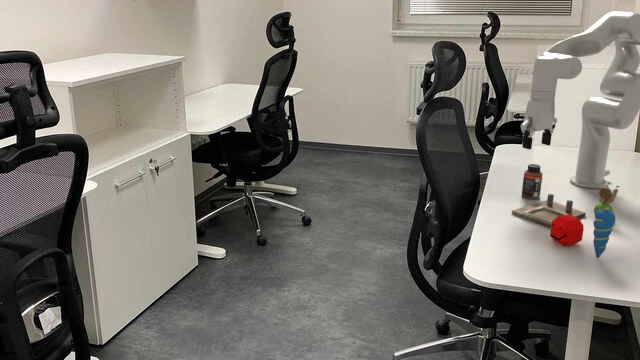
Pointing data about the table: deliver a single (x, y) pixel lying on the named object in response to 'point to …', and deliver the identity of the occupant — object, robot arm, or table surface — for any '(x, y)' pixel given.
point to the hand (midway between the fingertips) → (536, 146)
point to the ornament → (602, 229)
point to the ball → (566, 230)
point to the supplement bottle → (532, 182)
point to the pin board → (547, 211)
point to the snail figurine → (606, 198)
